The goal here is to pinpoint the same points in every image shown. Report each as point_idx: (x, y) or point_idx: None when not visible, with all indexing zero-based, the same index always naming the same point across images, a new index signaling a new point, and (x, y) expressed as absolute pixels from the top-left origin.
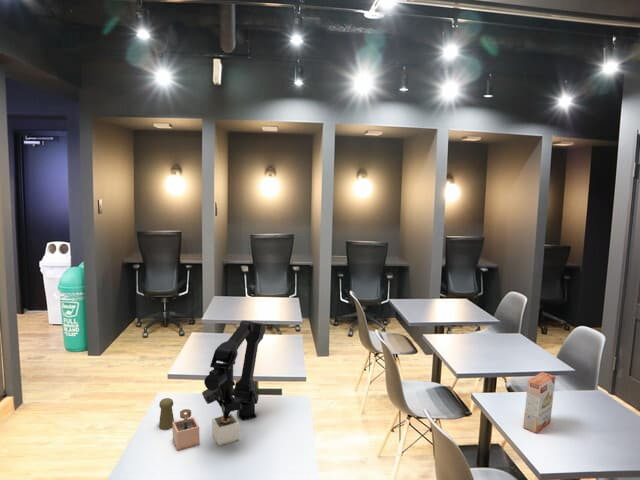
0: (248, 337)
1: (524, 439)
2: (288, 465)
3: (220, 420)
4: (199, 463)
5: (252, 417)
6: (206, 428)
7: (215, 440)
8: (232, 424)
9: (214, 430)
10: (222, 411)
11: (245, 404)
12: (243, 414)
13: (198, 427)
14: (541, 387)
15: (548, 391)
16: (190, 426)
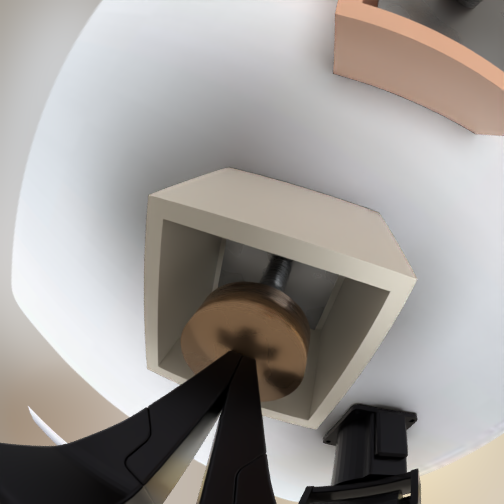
0: None
1: (64, 442)
2: (31, 288)
3: (255, 305)
4: (152, 13)
5: (329, 431)
6: (470, 238)
7: (298, 186)
8: (145, 329)
9: (321, 211)
10: (239, 423)
11: (349, 480)
12: (361, 430)
13: (338, 7)
14: None
15: None
16: (476, 40)
